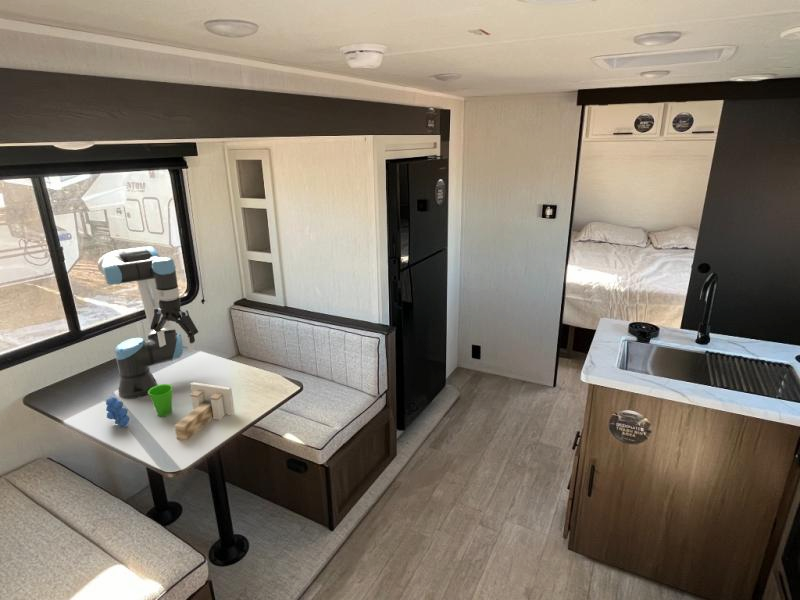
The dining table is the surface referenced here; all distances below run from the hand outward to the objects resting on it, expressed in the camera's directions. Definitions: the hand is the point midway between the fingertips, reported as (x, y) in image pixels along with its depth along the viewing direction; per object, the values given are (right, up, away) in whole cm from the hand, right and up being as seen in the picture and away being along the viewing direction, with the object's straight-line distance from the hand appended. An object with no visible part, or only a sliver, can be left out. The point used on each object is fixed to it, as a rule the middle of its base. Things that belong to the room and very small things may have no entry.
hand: (177, 347), depth 185 cm
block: (+10, -30, -4) cm, 32 cm away
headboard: (+12, -28, +4) cm, 30 cm away
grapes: (-21, -31, -4) cm, 37 cm away
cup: (-7, -28, +5) cm, 29 cm away
